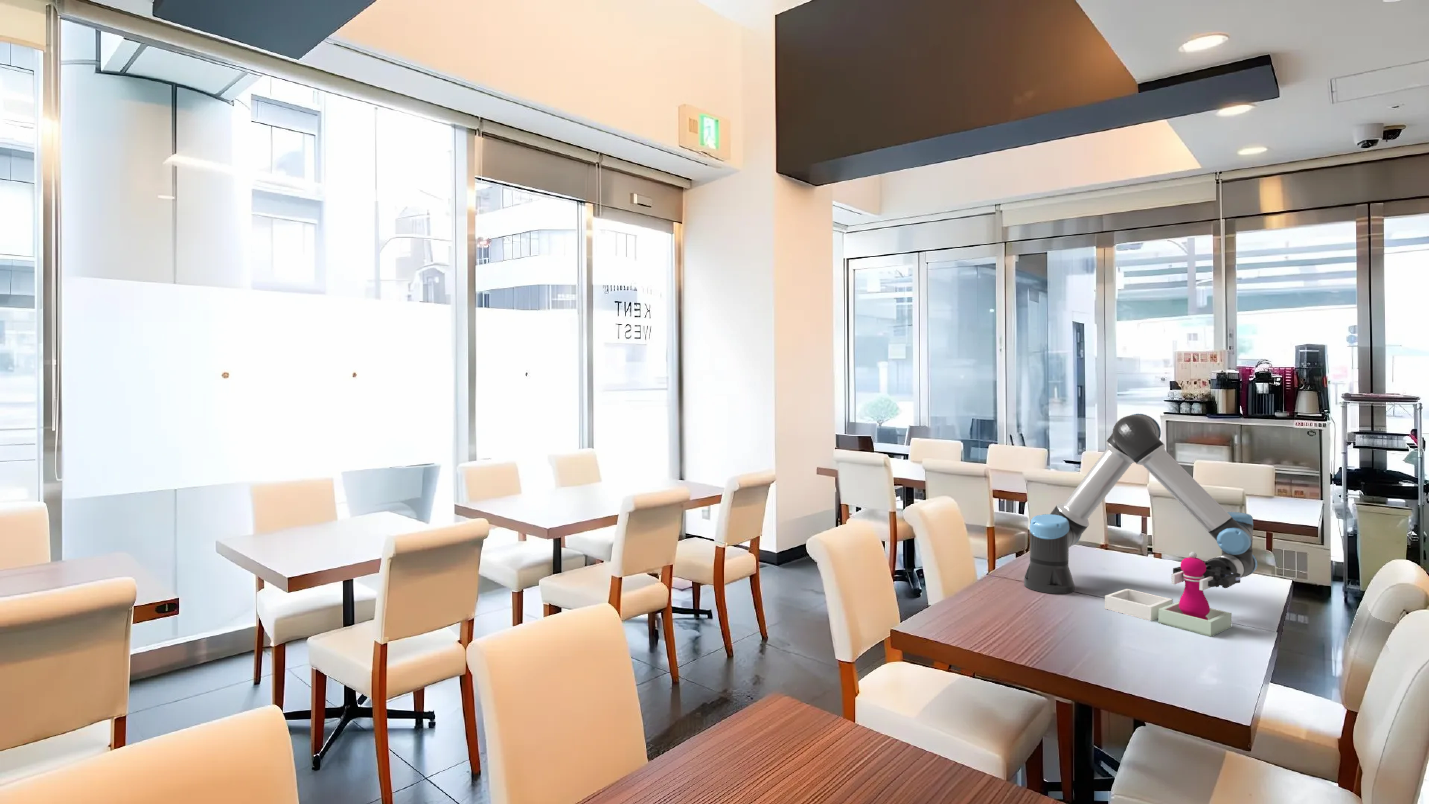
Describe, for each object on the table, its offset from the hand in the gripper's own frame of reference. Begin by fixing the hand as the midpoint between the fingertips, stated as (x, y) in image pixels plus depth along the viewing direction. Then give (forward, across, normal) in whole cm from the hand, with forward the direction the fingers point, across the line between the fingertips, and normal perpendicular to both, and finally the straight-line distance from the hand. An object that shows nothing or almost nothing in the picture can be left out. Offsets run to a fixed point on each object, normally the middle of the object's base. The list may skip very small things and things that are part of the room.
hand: (1186, 582), depth 194 cm
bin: (-5, +15, -13) cm, 20 cm away
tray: (-5, 0, -13) cm, 14 cm away
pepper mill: (-5, 0, -13) cm, 14 cm away
